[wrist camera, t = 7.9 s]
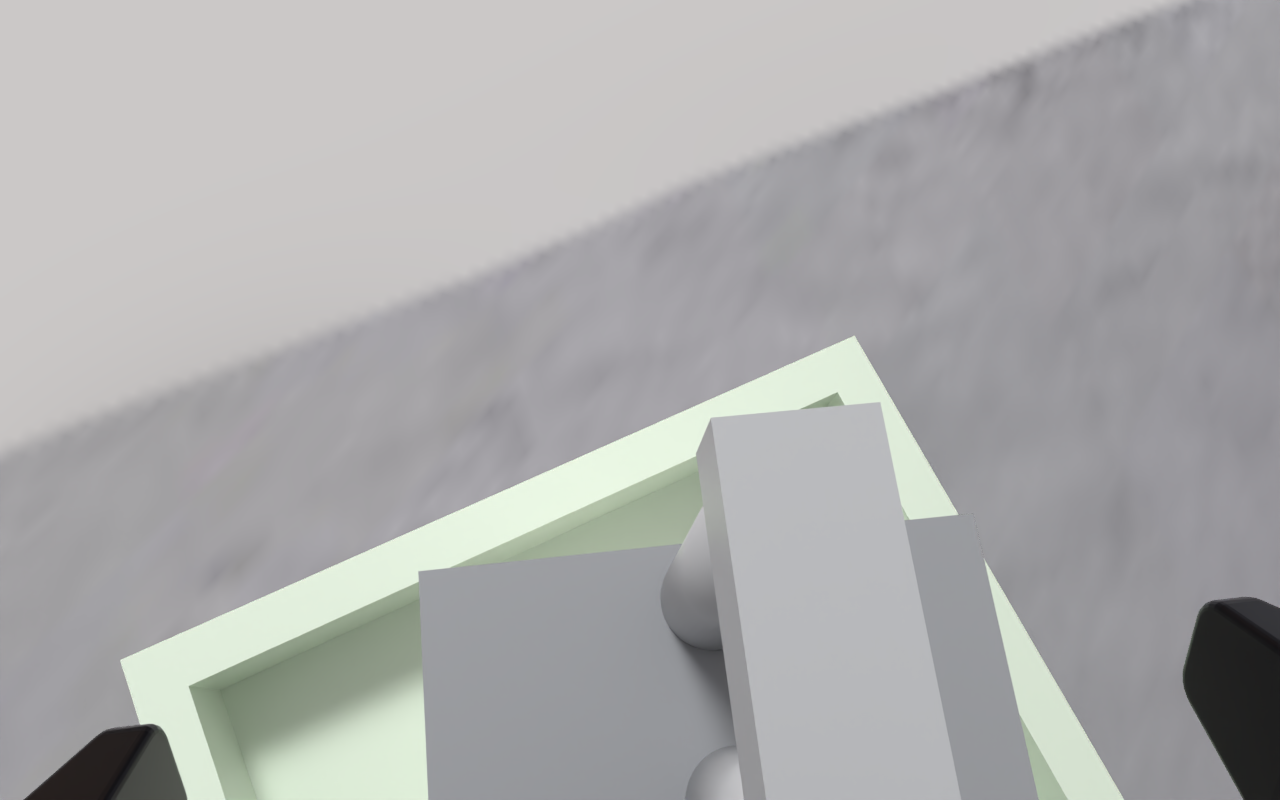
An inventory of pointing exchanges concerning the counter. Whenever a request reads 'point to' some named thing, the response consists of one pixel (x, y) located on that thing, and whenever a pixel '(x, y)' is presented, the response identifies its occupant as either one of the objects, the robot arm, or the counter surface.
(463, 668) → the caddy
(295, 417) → the counter surface
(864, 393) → the tray
